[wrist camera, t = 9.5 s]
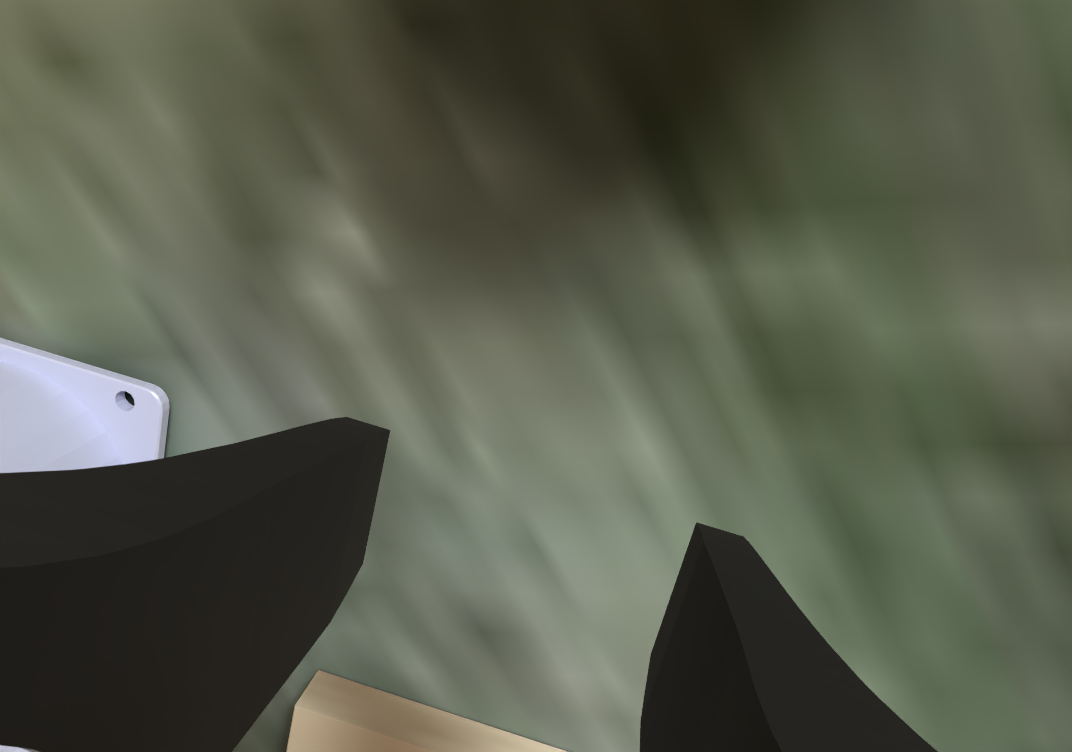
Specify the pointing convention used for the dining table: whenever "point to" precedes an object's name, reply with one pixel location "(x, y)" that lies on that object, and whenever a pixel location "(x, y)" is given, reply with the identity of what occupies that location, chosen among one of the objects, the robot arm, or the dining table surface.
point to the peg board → (388, 724)
